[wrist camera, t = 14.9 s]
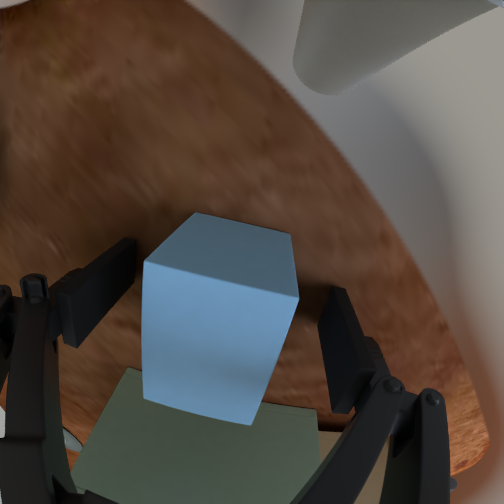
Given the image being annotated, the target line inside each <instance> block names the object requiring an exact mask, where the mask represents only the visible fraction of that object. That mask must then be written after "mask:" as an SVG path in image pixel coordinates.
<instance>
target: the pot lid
mask: <svg viewBox="0 0 504 504" xmlns="http://www.w3.org/2000/svg"><path fill="white" fill-rule="evenodd" d="M63 434H64V441H65V447H67V448H68V449H71V450H73V451H76V452H81V451H82V449H83V446H82V445H81V443H80V442H79V441H78V440H77V439H76V438H75V437H74V436H73V435H72V434H71V433H69V432H68V431H67V430H66V429H64V428H63Z"/></svg>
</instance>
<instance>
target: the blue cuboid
mask: <svg viewBox="0 0 504 504" xmlns="http://www.w3.org/2000/svg"><path fill="white" fill-rule="evenodd" d="M298 301H299V293H298V285H297V278H296V271H295V264H294V257H293V250H292V243H291V237H290V234H288V233H284V232H280V231H276V230H272V229H267V228H263V227H259V226H254V225H250V224H246V223H241V222H237V221H233V220H228V219H224V218H219V217H215V216H210V215H206V214H201V213H197V212H195V213H194V214H193V215H192V216H190V217H189V218H188V219H187V220H186V221H185V222H184V223H183V224H182V225H181V226H180V227H179V228H178V229H176V230H175V231H174V232H173V233H172V234H171V235H170V236H169V237H168V238H167V239H166V240H165V241H164V242H163V243H162V244H161V245H160V246H159V247H157V248H156V249H155V250H154V251H153V252H152V253H151V254H150V255H149V256H148V257H147V258H146V259H145V260H144V265H143V283H142V317H141V347H142V380H143V398H144V399H147V400H150V401H153V402H156V403H159V404H163V405H166V406H169V407H173V408H176V409H180V410H183V411H187V412H191V413H195V414H199V415H203V416H207V417H211V418H215V419H220V420H225V421H229V422H234V423H240V424H245V425H252V422H253V420H254V417H255V415H256V413H257V410H258V408H259V405H260V403H261V400H262V398H263V395H264V393H265V390H266V388H267V385H268V383H269V380H270V378H271V375H272V373H273V370H274V367H275V365H276V362H277V359H278V357H279V354H280V351H281V349H282V346H283V343H284V341H285V338H286V335H287V332H288V329H289V327H290V324H291V321H292V318H293V315H294V312H295V310H296V307H297V304H298Z"/></svg>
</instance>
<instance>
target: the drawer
mask: <svg viewBox="0 0 504 504" xmlns="http://www.w3.org/2000/svg"><path fill="white" fill-rule="evenodd" d="M342 433H343V432H327V431H318V434H319V445H320V457H321V463H322V462H323V460H324V459H325V458H326V456H327V455H328V453H329V452H330V450H331V449H332V448H333V446H334V445H335V443H336V442H337V440H338V439H339V437H340V436H341V434H342ZM389 439H390V437H389V438H388V439H387V440H386V442H385V445H384V447H383V449H382V451H381V453H380V455H379V457H378V460H377V462H376V464H375V466H374V468H373V470H372V472H371V474H370V475H369V477H368V479H367V481H366V483H365V485H364V487H363V488H362V490H361V492H360V494H359V495H358V497H357V499H356V501H355V502H354V504H379V501H380V496H381V491H382V486H383V481H384V475H385V469H386V462H387V455H388V448H389ZM456 487H457V482H456V480H455V479H453V478H450V492H451V491H452V490H454V489H455V488H456Z"/></svg>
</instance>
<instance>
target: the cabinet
mask: <svg viewBox="0 0 504 504" xmlns="http://www.w3.org/2000/svg"><path fill="white" fill-rule="evenodd" d="M320 464H321V457H320V445H319V434H318V423H317V414H316V409H307V408H299V407H292V406H285V405H278V404H272V403H266V402H261V403H260V405H259V408H258V410H257V413H256V415H255V417H254V420H253V422H252V425H245V424H240V423H234V422H229V421H225V420H220V419H215V418H211V417H207V416H203V415H199V414H195V413H191V412H187V411H183V410H180V409H176V408H173V407H169V406H166V405H163V404H159V403H156V402H153V401H150V400H147V399H144V398H143V380H142V371H139V370H136V369H133V368H130V367H128V368H127V369H126V371H125V373H124V375H123V376H122V378H121V380H120V381H119V383H118V385H117V387H116V388H115V390H114V392H113V394H112V395H111V397H110V399H109V401H108V403H107V404H106V406H105V408H104V410H103V412H102V413H101V415H100V417H99V419H98V421H97V422H96V424H95V426H94V428H93V430H92V432H91V434H90V435H89V437H88V439H87V441H86V443H85V445H84V447H83V449H82V451H81V453H80V455H79V456H78V458H77V460H76V462H75V464H74V466H73V468H72V470H71V472H70V474H71V477H72V479H73V482H74V484H75V486H76V489H77V492H78V493H81V494H84V493H85V491H86V489H87V490H89V491H91V492H94V493H96V494H98V495H100V496H103V497H105V498H107V499H110V500H112V501H115V502H117V503H119V504H289V503H290V502H291V501H292V500H293V499H294V498H295V496H296V495H297V494H298V493H299V492H300V490H301V489H302V488H303V487H304V485H305V484H306V483H307V482H308V480H309V479H310V478H311V476H312V475H313V474H314V473H315V471H316V470H317V469H318V467H319V466H320Z"/></svg>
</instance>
